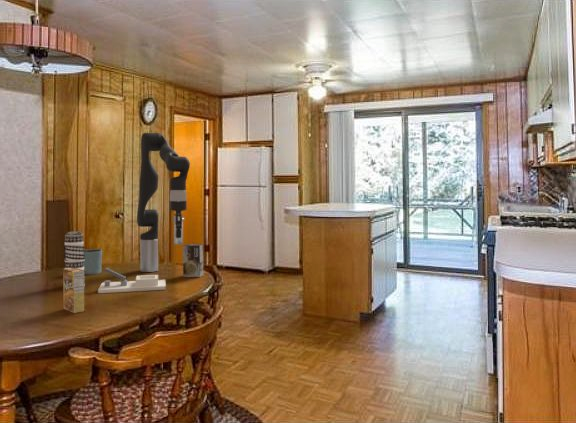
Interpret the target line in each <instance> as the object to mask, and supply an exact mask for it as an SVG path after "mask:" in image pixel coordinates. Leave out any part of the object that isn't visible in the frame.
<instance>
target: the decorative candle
mask: <svg viewBox="0 0 576 423" xmlns="http://www.w3.org/2000/svg"><path fill="white" fill-rule="evenodd" d="M62 246H63V247H62V249H63V250H64V251H63V257H64V260H63V261H64V262H65V268H76V269H80V270H84V262H83V261H84V260H85V258H84V257H83V256H85V254H83V252H85V250H86V249H85V248H86V246H84V234H83V233H82V231H78V230H75V231H68V232H66V234H65V235H64V243H63V245H62ZM84 272H85V270H84ZM85 280H86V274H84V287H85V286H86V284H85V283H86V281H85Z"/></svg>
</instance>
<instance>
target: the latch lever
mask: <svg viewBox="0 0 576 423" xmlns="http://www.w3.org/2000/svg"><path fill="white" fill-rule="evenodd" d="M104 273H108V274H109V275H112V276H114V277H116V278H118V279H120V280H123V281H124V280H127V276H126V275H123V274H121V273H119V272H116V271H114V270H113V269H110V268H109V267H106V268H104Z"/></svg>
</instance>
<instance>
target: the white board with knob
mask: <svg viewBox="0 0 576 423" xmlns="http://www.w3.org/2000/svg"><path fill="white" fill-rule="evenodd" d="M166 286H167V284H166V279H159V274H146V275H136V277H135V280H129V281H128V280H127V279H125V280H124V281H123V280H122V279H120V281H111V280H110V279H109V280H104V282H102V283H101V284H100V286H99V287H98V289H97V294H106V293H108V294H110V293H111V294H112V293H128V292H129V293H130V292H145V291H146V292H147V291H163V290H165V291H166Z"/></svg>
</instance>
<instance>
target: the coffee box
mask: <svg viewBox="0 0 576 423" xmlns="http://www.w3.org/2000/svg"><path fill="white" fill-rule="evenodd" d="M182 269H183V270H182V271H183V272H182V277H183V278H201V277H203V276H204V244H203V243H201V244H200V243H197V244H196V243H191V244H190V243H188V244H187V243H186V244H184V245H182Z"/></svg>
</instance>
